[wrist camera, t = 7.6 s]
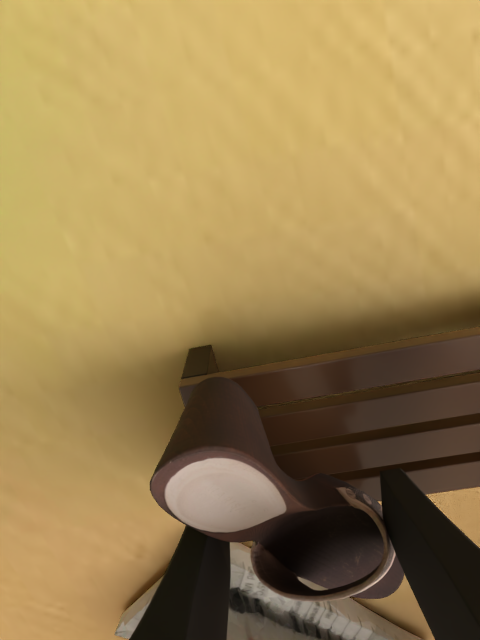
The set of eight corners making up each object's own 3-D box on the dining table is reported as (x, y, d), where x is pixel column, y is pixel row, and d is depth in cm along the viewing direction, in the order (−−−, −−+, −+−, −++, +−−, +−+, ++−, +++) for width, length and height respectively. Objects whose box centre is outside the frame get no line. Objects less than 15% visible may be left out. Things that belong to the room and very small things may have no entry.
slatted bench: (554, 281, 14) (631, 308, 11) (534, 421, 17) (592, 471, 14) (189, 348, 15) (177, 387, 12) (224, 470, 18) (221, 524, 15)
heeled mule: (314, 583, 15) (344, 710, 11) (130, 410, 11) (88, 515, 8) (408, 532, 14) (473, 652, 10) (241, 330, 11) (253, 405, 7)
